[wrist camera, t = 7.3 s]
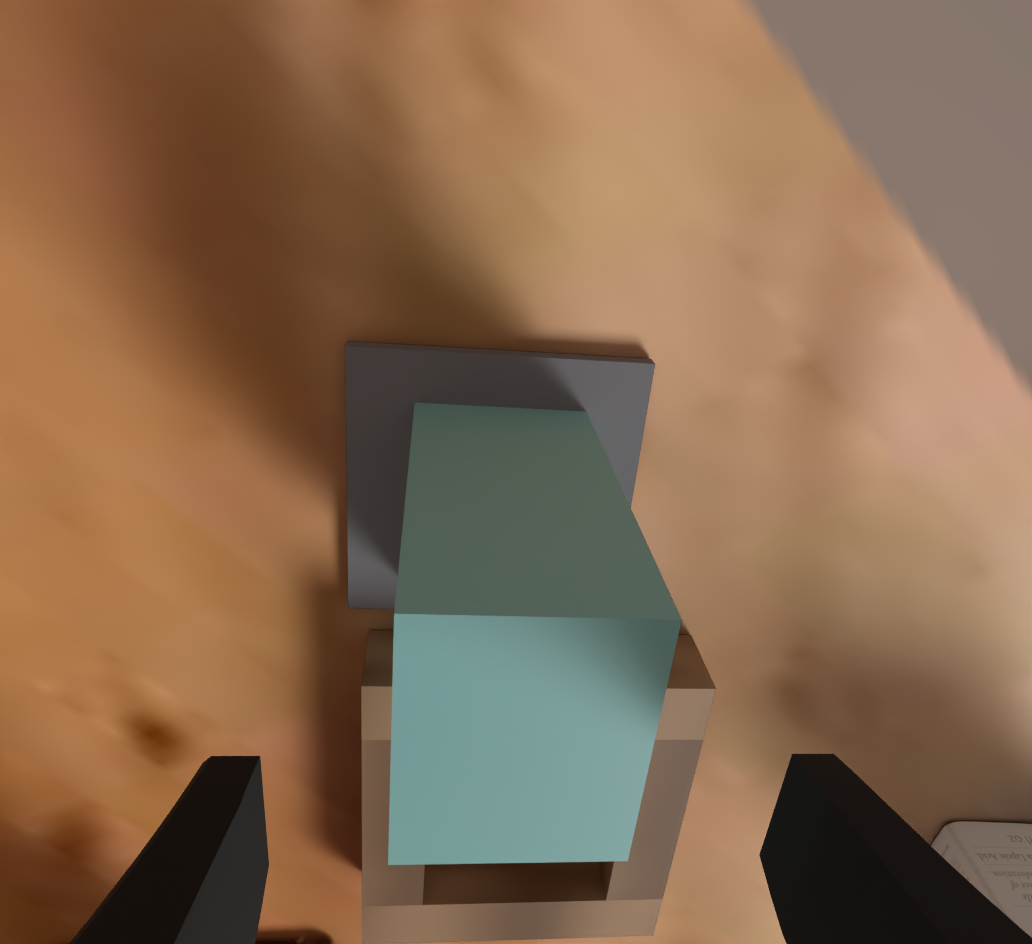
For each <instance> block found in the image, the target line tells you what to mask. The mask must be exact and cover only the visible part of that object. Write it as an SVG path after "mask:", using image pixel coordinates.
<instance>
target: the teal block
mask: <svg viewBox="0 0 1032 944" xmlns="http://www.w3.org/2000/svg"><path fill="white" fill-rule="evenodd" d="M681 621H682V619H681V617H680V615H679V613H678V610H677V608H676V606H675V604H674V602H673V600H672V597H671V595H670V593H669V591H668V589H667V586H666V584H665V582H664V580H663V578H662V576H661V573H660V571H659V569H658V567H657V565H656V562H655V560H654V558H653V556H652V554H651V551H650V549H649V547H648V545H647V543H646V541H645V538H644V536H643V534H642V532H641V530H640V527H639V525H638V523H637V521H636V519H635V517H634V514H633V512H632V510H631V508H630V506H629V503H628V501H627V499H626V497H625V495H624V492H623V490H622V488H621V486H620V484H619V482H618V479H617V477H616V475H615V473H614V471H613V468H612V466H611V464H610V462H609V460H608V458H607V455H606V453H605V451H604V449H603V447H602V444H601V442H600V440H599V438H598V436H597V433H596V431H595V429H594V427H593V425H592V423H591V420H590V418H589V416H588V414H587V412H585V411H566V410H547V409H529V408H510V407H491V406H472V405H453V404H434V403H415V405H414V415H413V426H412V436H411V446H410V456H409V466H408V477H407V487H406V497H405V507H404V517H403V528H402V538H401V548H400V558H399V568H398V579H397V589H396V599H395V609H394V637H393V679H392V721H391V763H390V805H389V847H388V865H422V864H484V863H546V862H608V861H628V858H629V854H630V849H631V845H632V840H633V836H634V831H635V827H636V822H637V818H638V813H639V809H640V804H641V800H642V795H643V791H644V787H645V782H646V778H647V773H648V769H649V764H650V760H651V755H652V751H653V746H654V742H655V737H656V733H657V728H658V724H659V720H660V715H661V711H662V706H663V702H664V697H665V693H666V688H667V684H668V679H669V675H670V670H671V666H672V661H673V657H674V653H675V648H676V644H677V639H678V635H679V630H680V626H681Z"/></svg>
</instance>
